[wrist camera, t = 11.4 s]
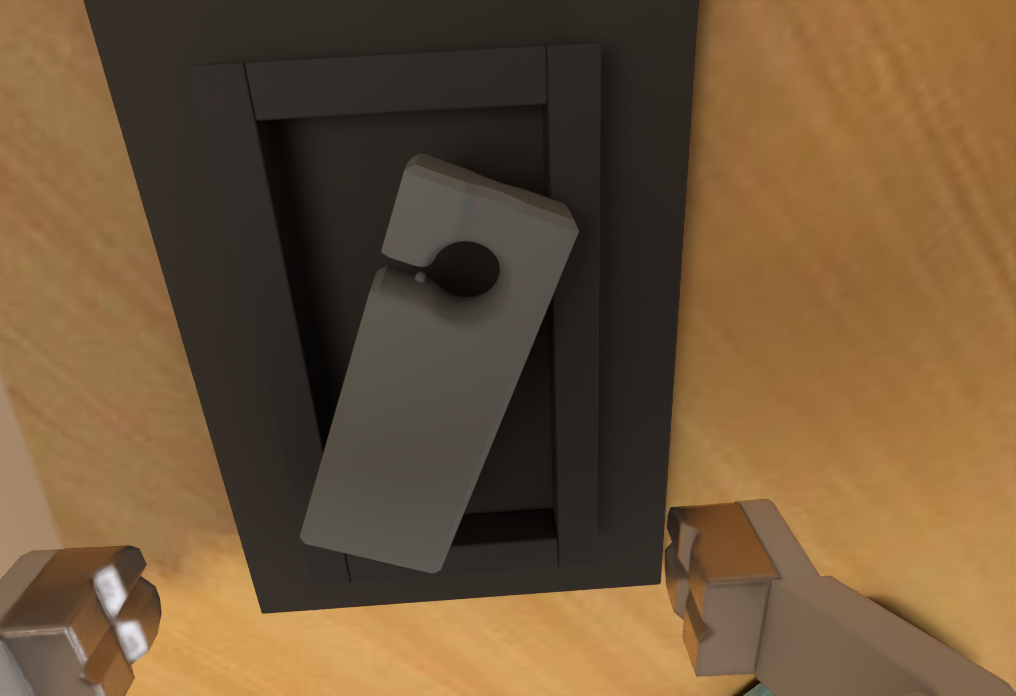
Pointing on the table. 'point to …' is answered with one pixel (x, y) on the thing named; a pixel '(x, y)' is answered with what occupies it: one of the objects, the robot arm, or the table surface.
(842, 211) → the table surface
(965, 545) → the table surface
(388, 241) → the bracket
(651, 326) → the base pad
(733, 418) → the table surface
